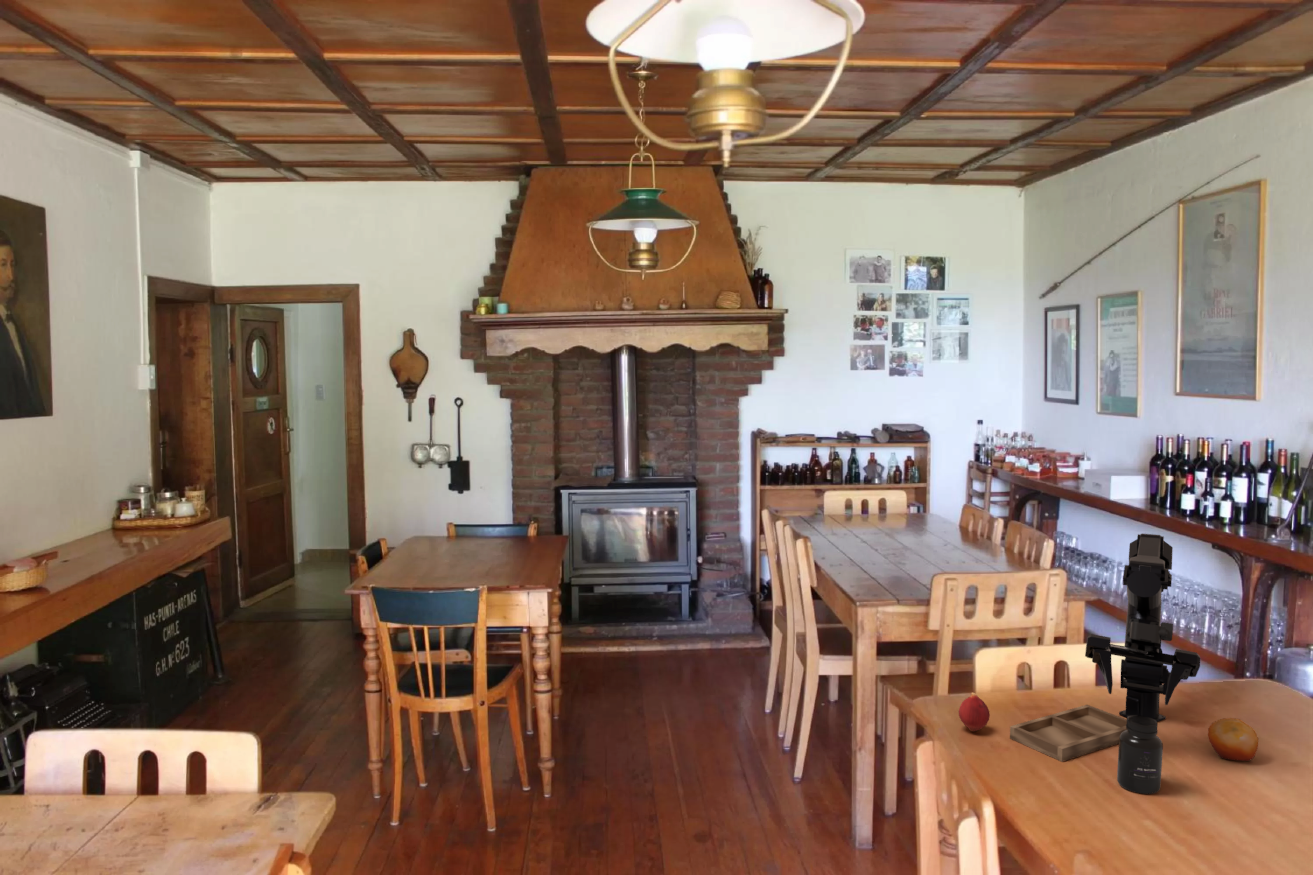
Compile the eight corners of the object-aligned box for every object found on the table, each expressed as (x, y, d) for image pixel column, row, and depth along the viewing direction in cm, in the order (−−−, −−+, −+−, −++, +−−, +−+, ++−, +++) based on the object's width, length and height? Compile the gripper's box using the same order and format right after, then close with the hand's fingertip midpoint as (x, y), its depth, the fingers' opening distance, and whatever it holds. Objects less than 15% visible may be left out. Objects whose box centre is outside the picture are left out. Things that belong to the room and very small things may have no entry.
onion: (984, 725, 188) (985, 687, 187) (992, 737, 182) (993, 698, 181) (955, 724, 188) (956, 687, 188) (962, 736, 183) (963, 697, 182)
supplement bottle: (1144, 798, 157) (1147, 730, 156) (1108, 782, 163) (1110, 716, 162) (1169, 789, 160) (1172, 723, 159) (1133, 773, 166) (1136, 709, 165)
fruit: (1252, 740, 176) (1257, 714, 172) (1256, 776, 170) (1262, 749, 166) (1203, 733, 180) (1207, 707, 175) (1206, 768, 174) (1211, 741, 169)
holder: (1086, 715, 192) (1087, 704, 192) (1140, 736, 182) (1140, 724, 182) (1009, 738, 182) (1010, 726, 181) (1061, 761, 171) (1062, 748, 171)
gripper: (1092, 594, 174) (1085, 671, 166) (1206, 612, 166) (1203, 694, 158) (1088, 618, 182) (1081, 693, 175) (1196, 636, 174) (1193, 715, 167)
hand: (1138, 698), depth 168 cm, fingers open, 9 cm apart
